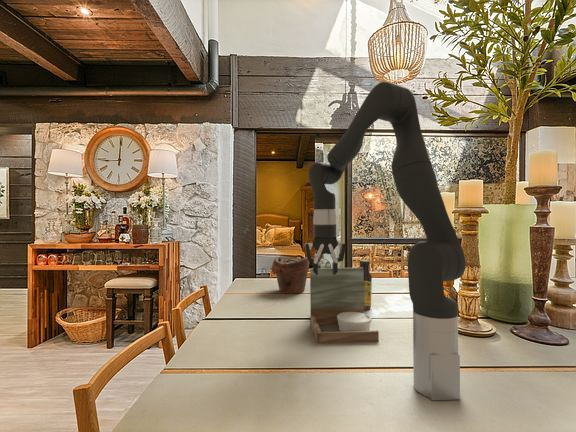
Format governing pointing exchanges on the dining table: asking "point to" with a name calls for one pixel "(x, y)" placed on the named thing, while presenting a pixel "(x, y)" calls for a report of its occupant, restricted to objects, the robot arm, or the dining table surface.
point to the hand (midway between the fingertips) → (325, 274)
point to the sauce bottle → (367, 284)
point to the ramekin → (353, 321)
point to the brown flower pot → (291, 274)
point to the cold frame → (337, 303)
